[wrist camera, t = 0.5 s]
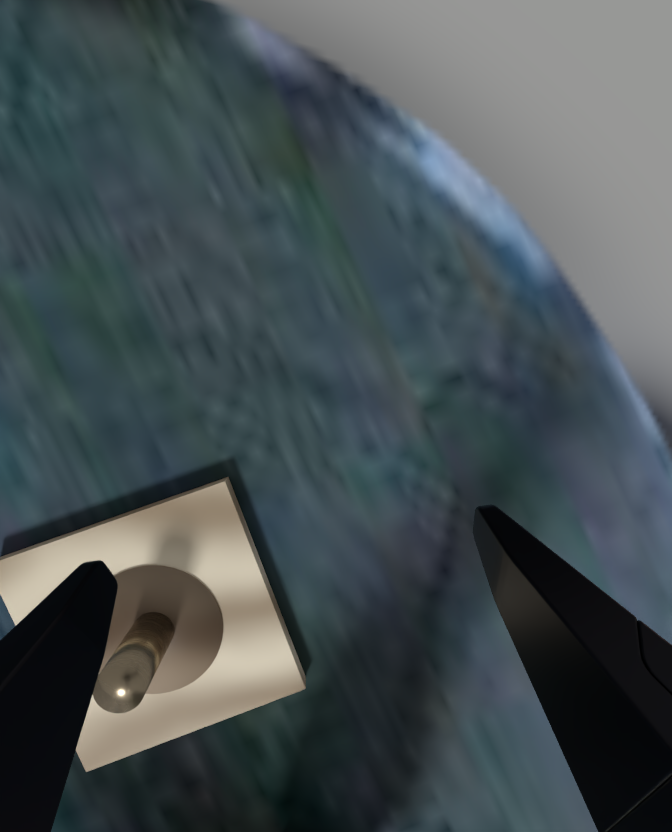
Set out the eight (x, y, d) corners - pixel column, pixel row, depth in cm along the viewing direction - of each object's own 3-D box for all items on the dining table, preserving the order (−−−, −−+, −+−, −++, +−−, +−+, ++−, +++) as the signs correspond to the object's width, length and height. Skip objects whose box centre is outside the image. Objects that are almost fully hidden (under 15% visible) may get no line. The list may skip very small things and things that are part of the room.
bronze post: (181, 640, 24) (152, 702, 19) (142, 654, 23) (104, 720, 19) (165, 604, 23) (133, 659, 19) (126, 619, 23) (84, 677, 19)
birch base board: (305, 676, 26) (305, 690, 24) (95, 756, 25) (85, 773, 24) (228, 476, 24) (224, 481, 23) (0, 557, 23) (-16, 566, 22)
